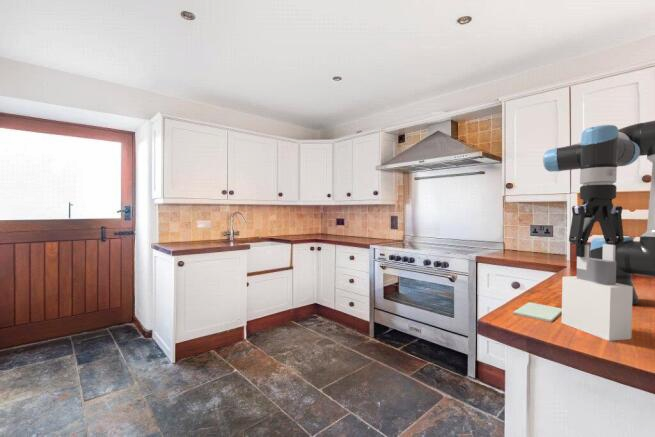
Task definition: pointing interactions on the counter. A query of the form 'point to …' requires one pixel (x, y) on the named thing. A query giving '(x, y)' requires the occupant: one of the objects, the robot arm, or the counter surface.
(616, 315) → the off-white upright block
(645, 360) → the counter surface
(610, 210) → the robot arm
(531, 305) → the mat
